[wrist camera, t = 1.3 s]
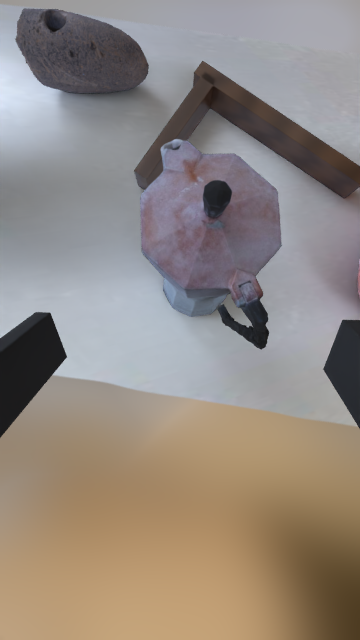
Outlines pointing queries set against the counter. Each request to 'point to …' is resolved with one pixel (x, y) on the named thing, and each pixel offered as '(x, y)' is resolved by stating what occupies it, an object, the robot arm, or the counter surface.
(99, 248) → the counter surface
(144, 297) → the counter surface
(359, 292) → the cell model
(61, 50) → the perforated stone tool
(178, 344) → the counter surface
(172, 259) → the moka pot
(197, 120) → the corner guide
